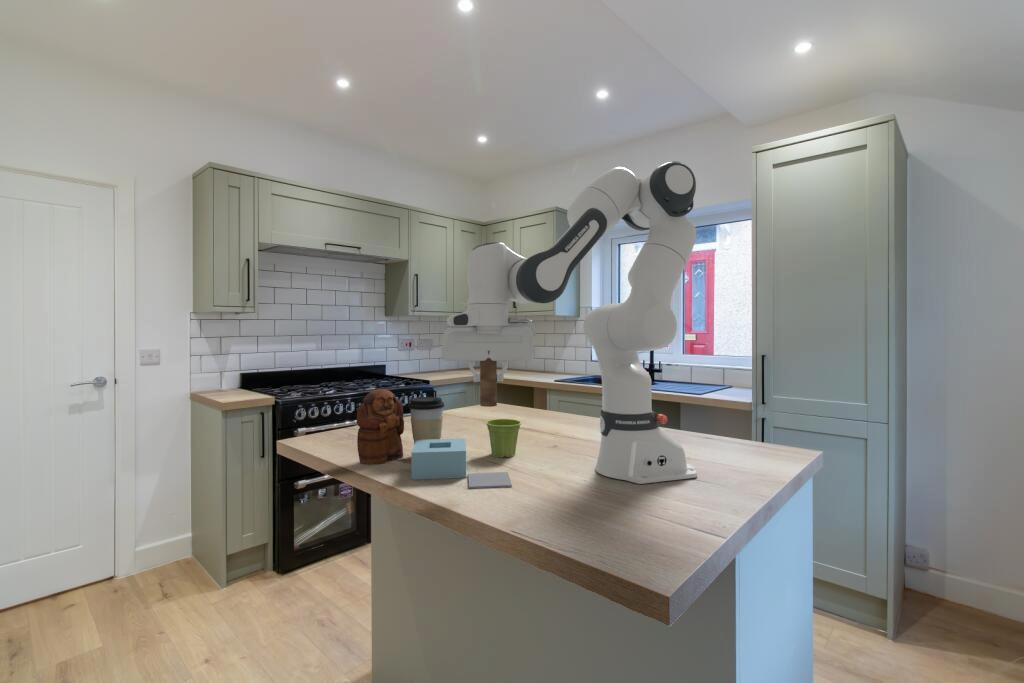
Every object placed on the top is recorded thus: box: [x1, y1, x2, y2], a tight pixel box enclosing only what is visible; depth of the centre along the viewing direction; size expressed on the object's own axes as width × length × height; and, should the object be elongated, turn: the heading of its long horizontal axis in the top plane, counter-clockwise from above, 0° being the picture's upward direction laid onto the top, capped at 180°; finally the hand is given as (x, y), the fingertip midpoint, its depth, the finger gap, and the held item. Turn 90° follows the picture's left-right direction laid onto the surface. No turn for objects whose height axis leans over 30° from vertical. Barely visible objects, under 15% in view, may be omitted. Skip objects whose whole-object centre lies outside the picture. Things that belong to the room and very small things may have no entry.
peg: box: [479, 351, 498, 408], centre depth 105 cm, size 4×4×12 cm
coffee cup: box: [407, 396, 445, 446], centre depth 126 cm, size 9×9×15 cm
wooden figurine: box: [356, 388, 405, 465], centre depth 123 cm, size 12×6×18 cm, turn 142°
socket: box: [410, 438, 467, 480], centre depth 113 cm, size 12×12×6 cm
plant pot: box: [485, 418, 522, 458], centre depth 127 cm, size 9×9×9 cm
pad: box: [467, 471, 513, 489], centre depth 106 cm, size 9×9×1 cm
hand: (488, 381), depth 105 cm, fingers closed on peg, 4 cm apart
